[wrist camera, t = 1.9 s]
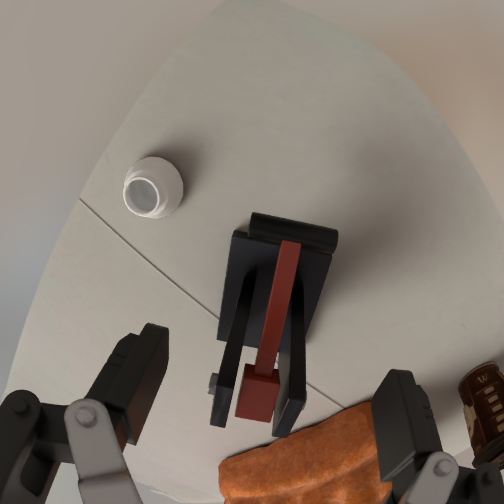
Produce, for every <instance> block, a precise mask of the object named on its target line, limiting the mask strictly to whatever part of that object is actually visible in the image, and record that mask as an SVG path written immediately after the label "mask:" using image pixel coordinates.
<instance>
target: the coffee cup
mask: <svg viewBox="0 0 504 504" xmlns="http://www.w3.org/2000/svg"><path fill="white" fill-rule="evenodd" d="M458 391H459V394H460V397H461V399H462V402H463V404H464V415H465V420H466V424H467V429H468V433H469V438H470V442H471V446H472V448H473V451H474V456H475V458H474V460H473V462H472V465H473V467H474V468H477V467H478V466H480V465H481V464H483V463H486V462H489V463H492V464H494V465H495V466H497V467H498V469H499V470H502V469H504V375H503V373H502V372H500V371H499V368H498V366H497V364H496V363H494V362H488V363H485V364H483V365H480V366H478V367H477V368H475V369H473V370H472V371H471V372H469V373H468V374H467V375H466V376H465V377H464V378H463V380H462V381H461V383H460V385H459V388H458Z"/></svg>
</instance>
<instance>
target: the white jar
mask: <svg viewBox="0 0 504 504" xmlns="http://www.w3.org/2000/svg"><path fill="white" fill-rule="evenodd" d="M123 197H124V201H125V204H126V206H127V207H128V208H129V210H130V211H132V212H133V213H135V214H137V215H140V216H144V217H149V218H162V217H165V216H168V215H170V214H171V213H172V212H173V211H174V210H175V209H176V208H178V206H179V204H180V202H181V200H182V197H183V182H182V179H181V176H180V173H179V172H178V170H177V169H176V168H175V167H174V166H173V165H172V164H171V163H170V162H168V161H166V160H164V159H162V158H160V157H147V158H144V159H141V160H139V161H137V162H136V163H135V164H134V165H133V166H132V167H131V168H130V169H129V170H128V173H127V176H126V178H125V182H124V192H123Z"/></svg>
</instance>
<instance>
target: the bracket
mask: <svg viewBox="0 0 504 504" xmlns="http://www.w3.org/2000/svg"><path fill="white" fill-rule="evenodd" d="M280 245H281V243H276V242H271V241H266V240H261V239H256V238H252V237H248V233H246V232H241V231H236V230H234V232H233V235H232V239H231V245H230V251H229V258H228V264H227V271H226V278H225V284H224V291H223V298H222V305H221V312H220V319H219V326H218V333H217V340H220V341H225V342H227V344H226V347H225V351H224V355H223V359H222V363H221V366H220V370H219V374H217V373H212V375H211V378H210V382H209V387H208V394H212V395H214V399H213V406H212V413H211V419H210V425H213V426H217V427H222V428H225V426H226V422H227V418H228V413H229V409H230V404H231V400H232V395H233V391H234V386H235V381H236V376H237V371H238V366H239V361H240V357H241V352H242V347H243V345H244V346H249V347H254V348H258V347H259V343H260V338H261V334H262V329H263V325H264V320H265V316H266V311H267V306H268V302H269V297H270V292H271V288H272V283H273V278H274V274H275V269H276V264H277V259H278V254H279V249H280ZM331 260H332V254H329V253H324V252H319V251H315V250H310V249H305V248H301V249H300V254H299V259H298V264H297V269H296V273H295V278H294V283H293V287H292V292H291V296H290V301H289V305H288V310H287V314H286V318H285V323H284V327H283V331H282V336H281V340H280V344H279V348H278V352H279V357H278V370H279V376H280V384H281V385H280V389H279V393H278V397H277V400H276V404H275V407H274V417H273V428H272V436H273V437H280V438H287V436H288V435H289V433H290V431H291V429H292V427H293V425H294V423H295V421H296V420H297V418H298V416H299V414H300V412H301V411H302V410H303V409H304V407H305V404H306V400H307V391H306V347H305V336H306V333H307V331H308V328H309V325H310V322H311V320H312V317H313V314H314V311H315V308H316V305H317V302H318V299H319V296H320V293H321V290H322V287H323V284H324V281H325V278H326V275H327V272H328V269H329V266H330V263H331Z"/></svg>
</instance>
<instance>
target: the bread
mask: <svg viewBox="0 0 504 504" xmlns="http://www.w3.org/2000/svg"><path fill="white" fill-rule="evenodd" d="M218 468H219V488H220V492H221V494H222V495H223V497H224V498H225V502H224V504H380V503H381V501H382V500H383V498H384V497H385V495H386V494H387V492H388V491H389V489H391V488H392V482H381V481H380V471H379V463H378V455H377V447H376V440H375V433H374V426H373V419H372V413H371V402H363V403H361V404H359V405H356V406H354V407H351V408H349V409H346V410H344V411H341V412H339V413H338V414H336V415H334V416H332V417H331V418H329V419H327V420H325V421H323V422H322V423H320V424H318V425H316V426H314V427H310V428H305V429H303V430H300V431H298V432H295V433H293V434H291V435H288V436H287V438H281V439H278V440H276V441H275V442H273V443H272V444H271V445H269V446H268V447H261V448H255V449H253V450H250V451H248V452H245V453H243V454H239V455H236V456H233V457H230V458H228V459H225V460H223V461H222V462H221V463H220V465H219V466H218Z"/></svg>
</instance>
